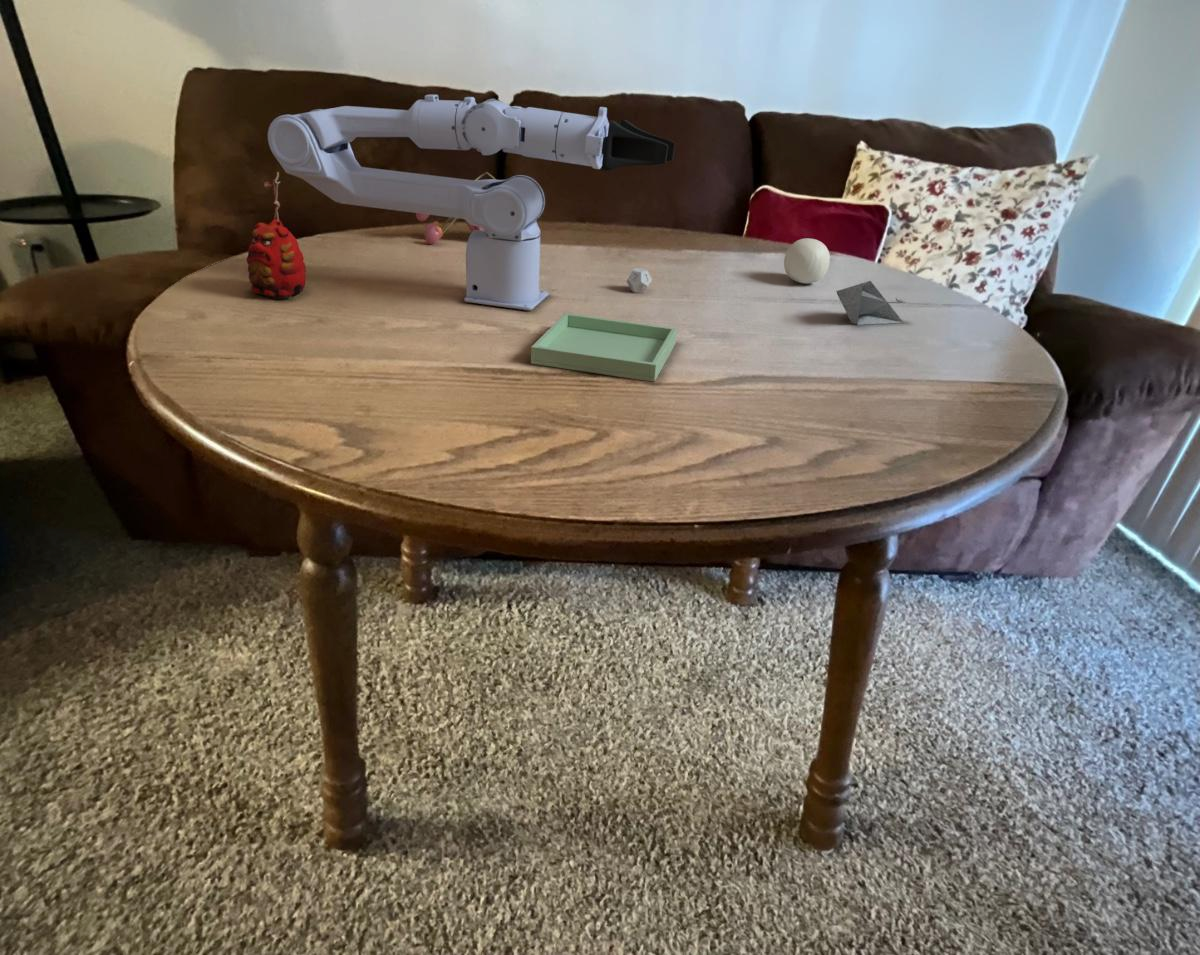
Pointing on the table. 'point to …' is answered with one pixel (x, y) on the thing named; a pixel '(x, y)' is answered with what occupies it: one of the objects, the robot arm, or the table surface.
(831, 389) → the table surface
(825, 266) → the cream white ball
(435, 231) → the anatomy model
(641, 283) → the game die
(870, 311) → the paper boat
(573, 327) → the tray
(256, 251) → the red clay folk toy
